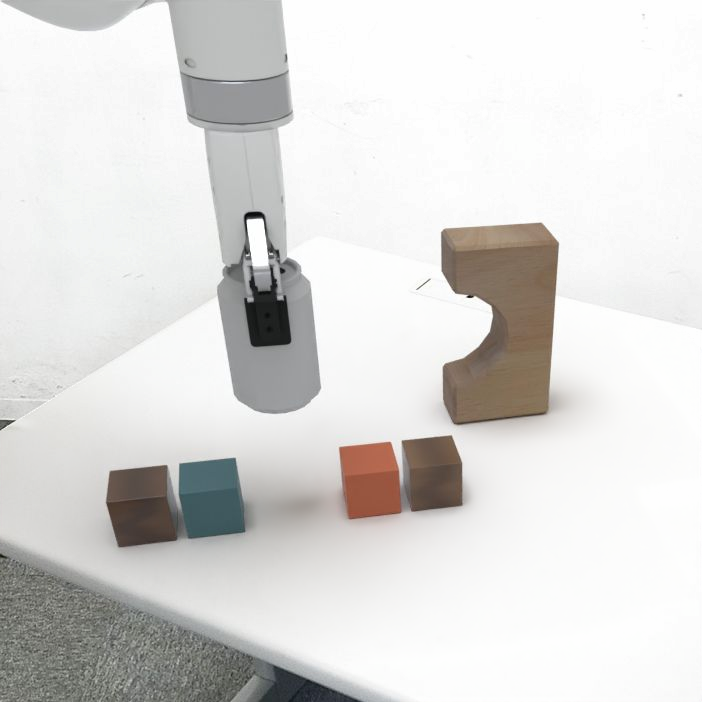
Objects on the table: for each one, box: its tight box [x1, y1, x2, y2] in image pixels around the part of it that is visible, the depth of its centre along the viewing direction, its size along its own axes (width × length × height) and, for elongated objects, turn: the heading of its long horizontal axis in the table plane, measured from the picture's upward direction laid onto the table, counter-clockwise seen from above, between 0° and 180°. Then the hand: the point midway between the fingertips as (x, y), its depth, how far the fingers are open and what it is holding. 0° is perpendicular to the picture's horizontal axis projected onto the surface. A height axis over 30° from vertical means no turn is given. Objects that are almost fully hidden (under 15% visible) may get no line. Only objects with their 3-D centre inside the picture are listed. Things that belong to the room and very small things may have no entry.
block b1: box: [105, 464, 178, 548], centre depth 87 cm, size 5×5×5 cm
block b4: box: [401, 434, 463, 512], centre depth 94 cm, size 5×5×5 cm
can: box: [216, 253, 322, 415], centre depth 81 cm, size 8×8×12 cm
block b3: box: [338, 441, 402, 520], centre depth 92 cm, size 5×5×5 cm
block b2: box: [178, 457, 246, 539], centre depth 89 cm, size 5×5×5 cm
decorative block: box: [440, 222, 560, 424], centre depth 103 cm, size 11×6×20 cm, turn 106°
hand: (268, 320), depth 80 cm, fingers closed on can, 7 cm apart
